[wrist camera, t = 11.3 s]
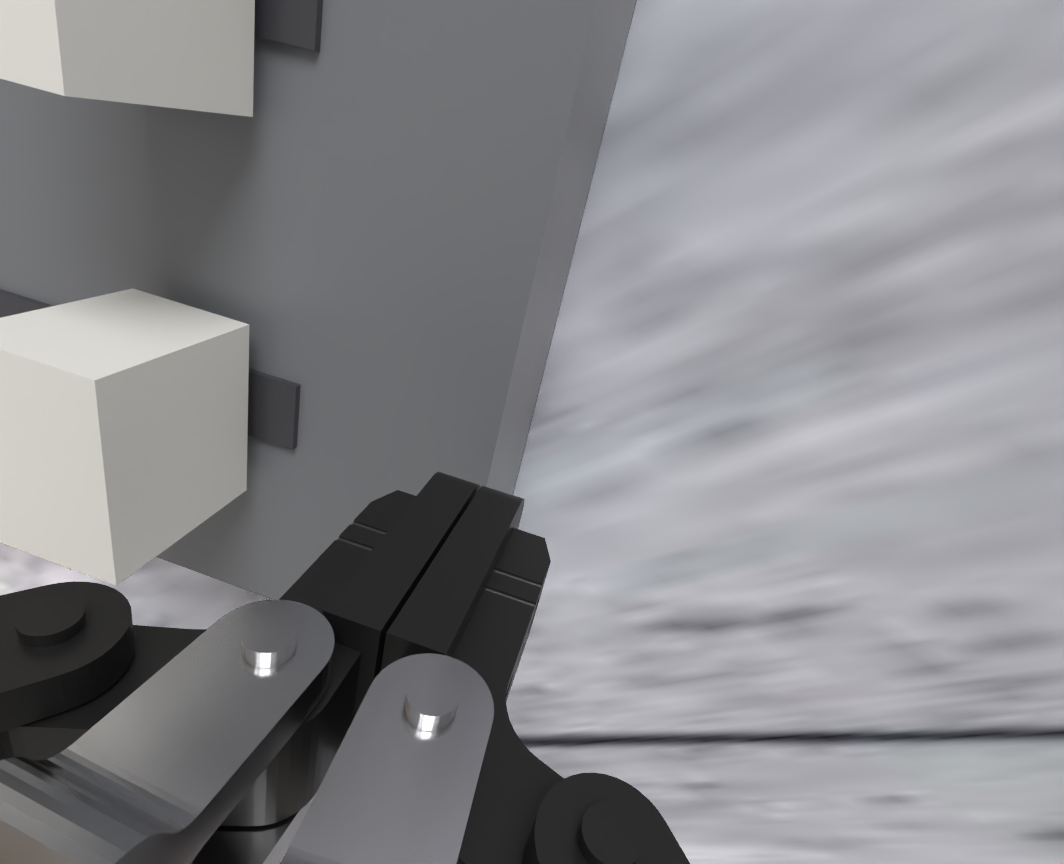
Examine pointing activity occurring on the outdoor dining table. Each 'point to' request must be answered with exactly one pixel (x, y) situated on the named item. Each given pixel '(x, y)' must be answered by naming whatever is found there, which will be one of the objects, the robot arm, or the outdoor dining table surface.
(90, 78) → the switch tab
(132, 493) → the switch tab
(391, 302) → the panel
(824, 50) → the outdoor dining table surface
